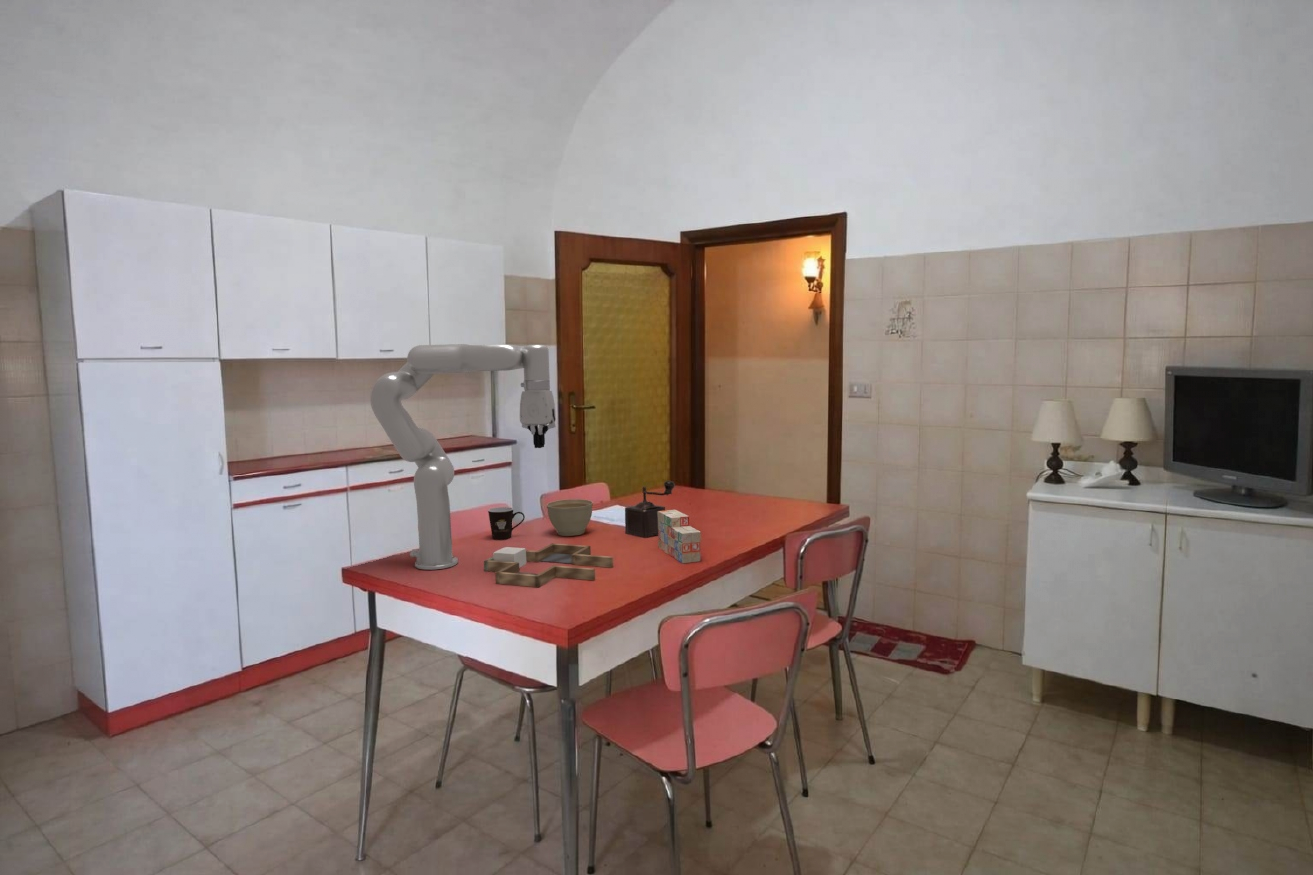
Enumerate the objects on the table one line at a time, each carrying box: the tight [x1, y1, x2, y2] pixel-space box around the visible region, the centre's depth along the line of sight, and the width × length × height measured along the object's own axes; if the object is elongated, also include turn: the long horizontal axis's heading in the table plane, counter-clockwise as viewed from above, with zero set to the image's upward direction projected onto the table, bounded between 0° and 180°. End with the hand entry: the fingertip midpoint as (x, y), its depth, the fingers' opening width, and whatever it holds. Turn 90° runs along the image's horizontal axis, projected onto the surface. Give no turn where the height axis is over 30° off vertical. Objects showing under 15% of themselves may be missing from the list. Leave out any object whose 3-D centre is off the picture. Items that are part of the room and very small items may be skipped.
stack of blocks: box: [657, 509, 702, 564], centre depth 242 cm, size 21×6×12 cm, turn 19°
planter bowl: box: [546, 498, 594, 537], centre depth 273 cm, size 16×16×11 cm
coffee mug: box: [487, 506, 526, 541], centre depth 268 cm, size 12×9×10 cm
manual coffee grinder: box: [624, 480, 676, 539], centre depth 272 cm, size 16×11×18 cm
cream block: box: [492, 546, 527, 569], centre depth 232 cm, size 7×7×5 cm
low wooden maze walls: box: [483, 543, 614, 588], centre depth 228 cm, size 35×34×3 cm
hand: (539, 447), depth 233 cm, fingers closed
